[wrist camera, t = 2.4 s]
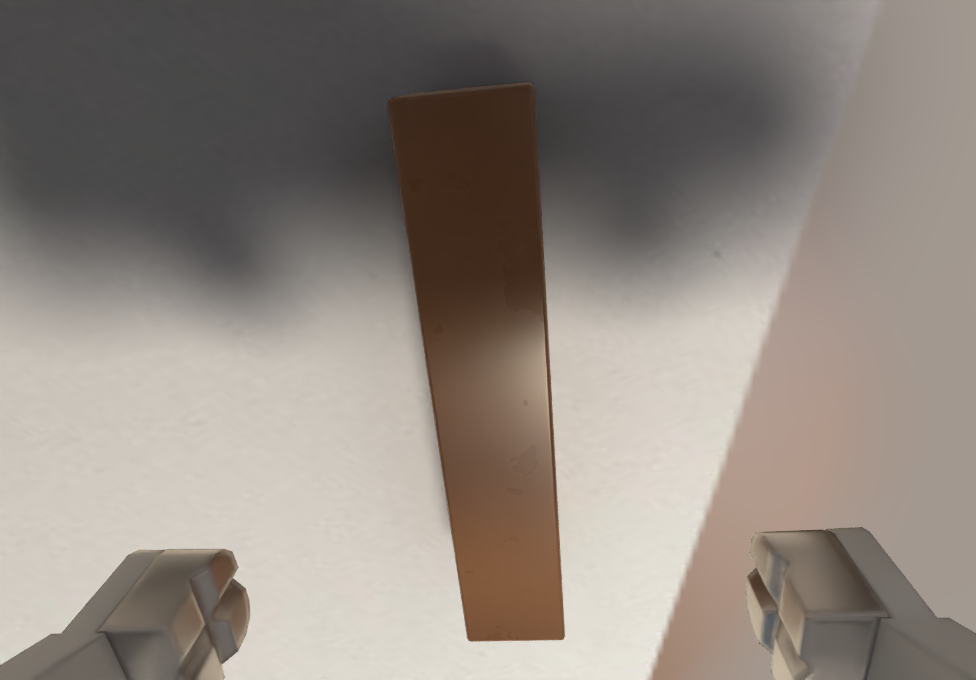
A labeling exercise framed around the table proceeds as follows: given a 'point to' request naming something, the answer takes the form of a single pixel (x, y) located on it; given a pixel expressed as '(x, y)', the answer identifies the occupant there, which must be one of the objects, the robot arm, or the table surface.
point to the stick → (486, 345)
